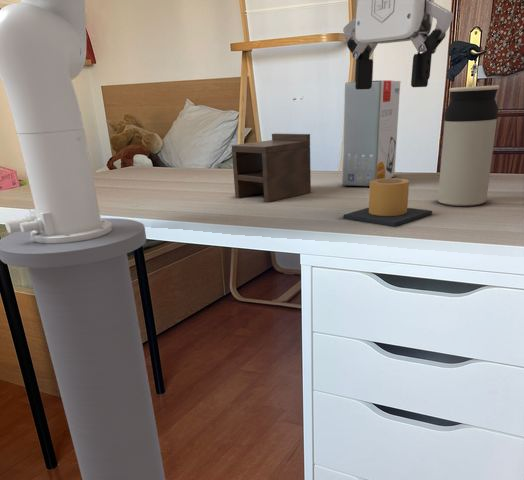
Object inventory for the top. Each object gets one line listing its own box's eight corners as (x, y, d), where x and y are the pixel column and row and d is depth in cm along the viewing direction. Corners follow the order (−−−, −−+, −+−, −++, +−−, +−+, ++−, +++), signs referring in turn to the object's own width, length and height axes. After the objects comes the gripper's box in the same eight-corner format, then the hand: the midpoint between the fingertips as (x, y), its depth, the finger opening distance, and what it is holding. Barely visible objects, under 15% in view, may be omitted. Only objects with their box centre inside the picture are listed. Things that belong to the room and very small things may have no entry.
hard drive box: (376, 187, 109) (380, 80, 101) (341, 186, 113) (342, 82, 104) (395, 176, 121) (401, 79, 113) (363, 175, 125) (366, 81, 116)
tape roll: (392, 218, 81) (394, 185, 79) (361, 213, 85) (361, 182, 83) (414, 211, 84) (416, 179, 82) (383, 207, 88) (384, 176, 86)
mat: (395, 226, 78) (395, 222, 78) (343, 218, 85) (343, 214, 85) (431, 214, 84) (432, 210, 84) (380, 207, 91) (380, 204, 91)
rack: (268, 202, 101) (265, 139, 96) (235, 197, 108) (230, 138, 103) (310, 192, 108) (310, 133, 103) (277, 188, 115) (275, 133, 110)
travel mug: (480, 208, 86) (495, 85, 79) (431, 205, 90) (441, 88, 83) (490, 199, 92) (505, 84, 85) (444, 197, 96) (454, 87, 89)
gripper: (330, -48, 73) (328, 90, 80) (443, -78, 61) (428, 86, 69) (364, -41, 77) (359, 89, 85) (476, -68, 66) (458, 85, 73)
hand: (390, 88), depth 77 cm, fingers open, 9 cm apart
